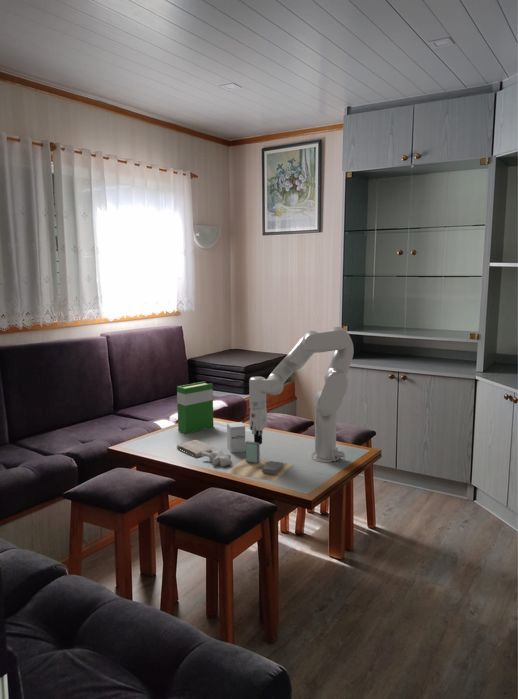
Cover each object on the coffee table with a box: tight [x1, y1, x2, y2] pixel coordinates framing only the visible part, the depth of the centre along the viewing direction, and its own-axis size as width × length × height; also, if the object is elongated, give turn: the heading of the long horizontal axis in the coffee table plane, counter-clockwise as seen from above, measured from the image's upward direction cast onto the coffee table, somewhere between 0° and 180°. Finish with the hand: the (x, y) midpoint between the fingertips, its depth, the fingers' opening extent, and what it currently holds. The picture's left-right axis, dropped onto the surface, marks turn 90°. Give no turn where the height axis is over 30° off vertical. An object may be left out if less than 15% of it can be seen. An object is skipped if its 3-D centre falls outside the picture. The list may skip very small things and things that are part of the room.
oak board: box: [225, 456, 293, 482], centre depth 236 cm, size 23×20×1 cm
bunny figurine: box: [201, 448, 233, 467], centre depth 244 cm, size 10×5×15 cm
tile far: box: [245, 440, 261, 463], centre depth 243 cm, size 6×2×9 cm, turn 66°
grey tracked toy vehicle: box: [176, 439, 217, 458], centre depth 261 cm, size 12×18×3 cm, turn 41°
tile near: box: [262, 460, 284, 475], centre depth 234 cm, size 6×2×9 cm
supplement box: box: [226, 421, 246, 453], centre depth 260 cm, size 7×7×13 cm
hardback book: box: [176, 381, 214, 434], centre depth 293 cm, size 18×7×24 cm, turn 131°
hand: (258, 443), depth 249 cm, fingers closed
